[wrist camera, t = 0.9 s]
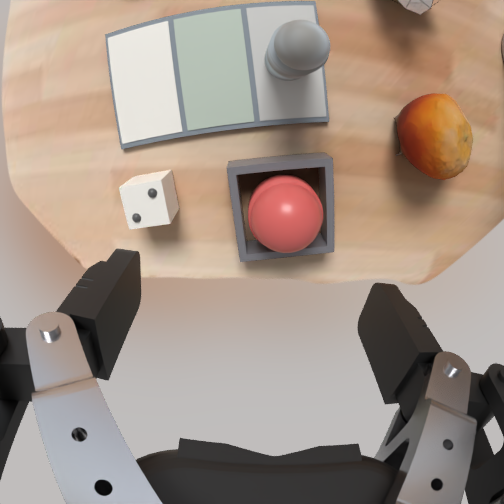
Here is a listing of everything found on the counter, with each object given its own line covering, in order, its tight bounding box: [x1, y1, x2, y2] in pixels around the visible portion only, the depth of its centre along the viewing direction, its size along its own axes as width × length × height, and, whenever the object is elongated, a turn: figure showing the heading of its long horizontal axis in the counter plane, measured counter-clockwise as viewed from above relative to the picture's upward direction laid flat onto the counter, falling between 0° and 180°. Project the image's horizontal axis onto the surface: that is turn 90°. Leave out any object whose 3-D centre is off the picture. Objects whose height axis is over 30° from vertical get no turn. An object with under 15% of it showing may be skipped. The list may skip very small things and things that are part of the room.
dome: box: [248, 174, 323, 253], centre depth 26 cm, size 6×6×6 cm
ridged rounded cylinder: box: [265, 20, 330, 81], centre depth 19 cm, size 4×4×10 cm
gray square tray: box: [227, 153, 334, 262], centre depth 29 cm, size 9×9×3 cm
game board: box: [105, 1, 329, 149], centre depth 24 cm, size 20×12×1 cm, turn 96°
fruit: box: [394, 94, 473, 180], centre depth 24 cm, size 8×8×8 cm
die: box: [119, 170, 179, 229], centre depth 28 cm, size 4×4×4 cm
